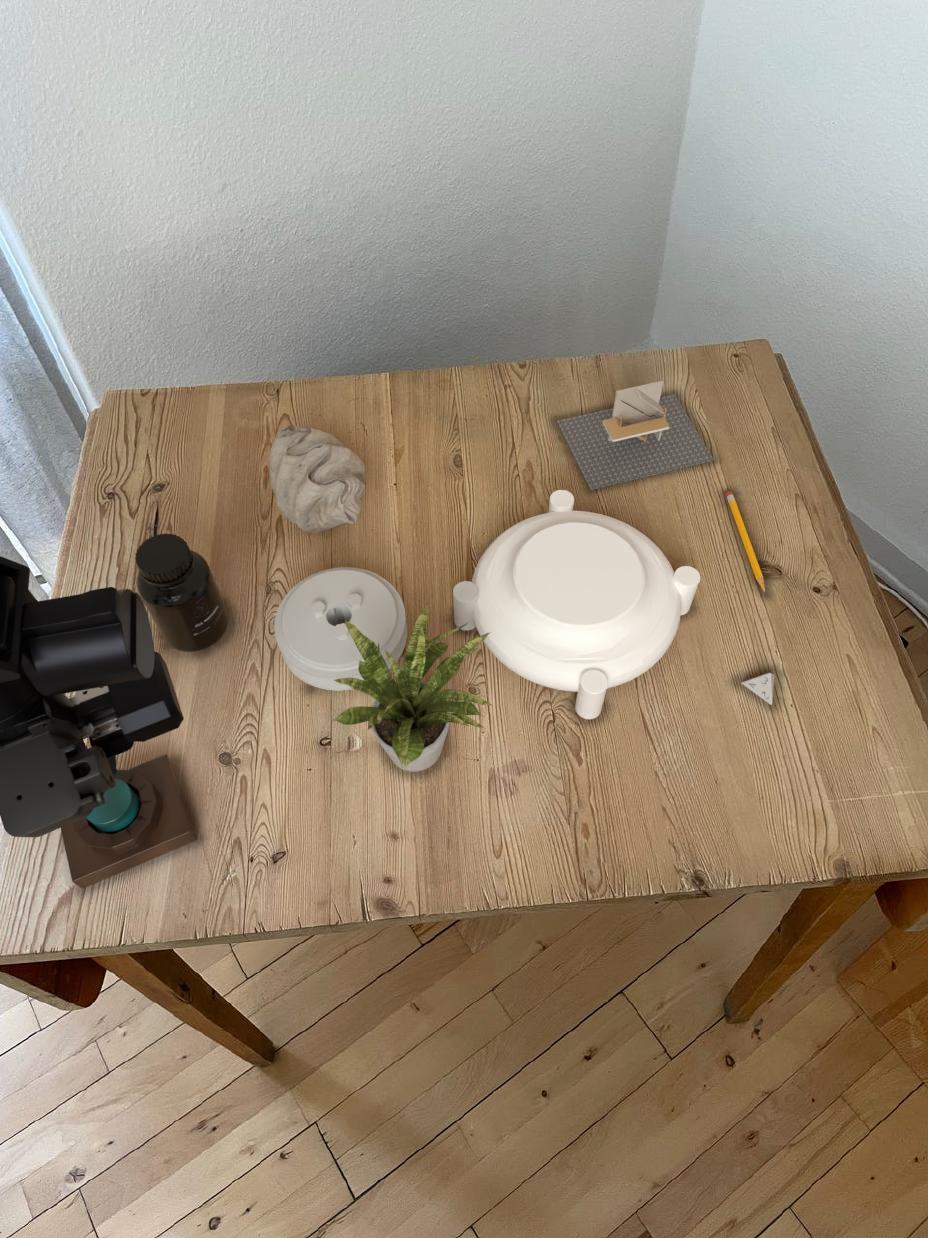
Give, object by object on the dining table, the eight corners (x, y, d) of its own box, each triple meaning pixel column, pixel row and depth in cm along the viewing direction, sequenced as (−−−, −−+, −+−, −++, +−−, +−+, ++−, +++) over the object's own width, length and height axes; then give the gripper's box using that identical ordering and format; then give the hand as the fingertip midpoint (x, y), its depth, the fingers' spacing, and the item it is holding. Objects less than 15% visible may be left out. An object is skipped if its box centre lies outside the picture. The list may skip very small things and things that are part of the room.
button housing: (82, 889, 74) (63, 875, 71) (64, 807, 78) (45, 791, 75) (196, 840, 76) (183, 824, 73) (173, 763, 80) (160, 745, 77)
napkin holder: (665, 449, 100) (677, 401, 94) (608, 462, 99) (617, 414, 93) (653, 429, 102) (664, 380, 96) (598, 441, 101) (605, 393, 95)
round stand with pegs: (446, 528, 94) (444, 484, 88) (666, 513, 95) (678, 468, 89) (462, 728, 82) (461, 692, 76) (716, 710, 82) (735, 673, 76)
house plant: (510, 819, 77) (517, 740, 63) (354, 844, 76) (326, 769, 62) (484, 679, 84) (484, 581, 71) (341, 699, 83) (314, 604, 70)
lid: (273, 602, 90) (263, 573, 85) (393, 576, 91) (389, 547, 87) (291, 708, 83) (280, 683, 79) (420, 678, 84) (417, 652, 80)
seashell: (280, 567, 92) (260, 506, 84) (276, 463, 100) (257, 398, 92) (376, 555, 93) (366, 493, 84) (365, 453, 101) (354, 387, 92)
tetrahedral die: (744, 673, 85) (741, 656, 83) (774, 674, 84) (772, 657, 82) (741, 704, 84) (737, 687, 81) (772, 705, 82) (769, 689, 80)
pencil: (731, 494, 97) (733, 490, 96) (767, 593, 89) (769, 590, 89) (724, 495, 97) (726, 491, 96) (760, 594, 89) (761, 590, 89)
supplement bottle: (224, 655, 86) (190, 585, 76) (156, 654, 86) (113, 584, 76) (235, 597, 90) (205, 524, 80) (170, 597, 90) (131, 523, 80)
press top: (96, 840, 73) (87, 831, 71) (87, 798, 75) (77, 789, 73) (144, 820, 73) (135, 811, 72) (133, 779, 75) (125, 770, 74)
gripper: (-153, 860, 50) (-20, 927, 63) (168, 732, 54) (230, 820, 67) (-165, 702, 55) (-41, 794, 68) (127, 597, 59) (191, 703, 72)
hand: (86, 780), depth 69 cm, fingers open, 4 cm apart
